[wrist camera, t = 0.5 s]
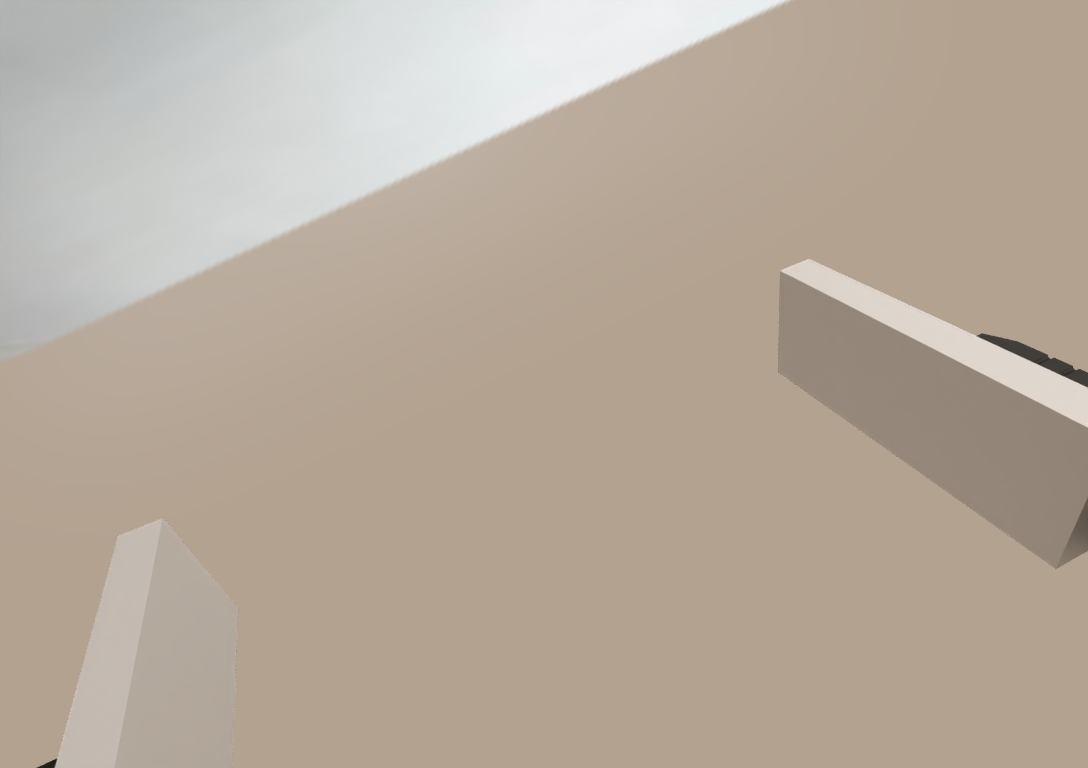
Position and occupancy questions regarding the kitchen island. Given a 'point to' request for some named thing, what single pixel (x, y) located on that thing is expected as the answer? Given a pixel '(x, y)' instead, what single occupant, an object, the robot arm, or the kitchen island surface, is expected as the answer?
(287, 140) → the kitchen island surface
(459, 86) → the kitchen island surface
